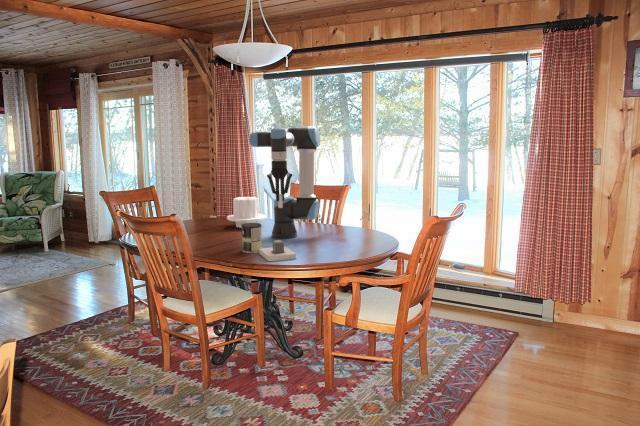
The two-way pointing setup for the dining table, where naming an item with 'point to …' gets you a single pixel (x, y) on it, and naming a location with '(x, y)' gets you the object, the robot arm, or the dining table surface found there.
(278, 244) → the plug
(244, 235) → the coffee can
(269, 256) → the socket plate
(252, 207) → the ribbed cylinder on disc
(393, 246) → the dining table surface
